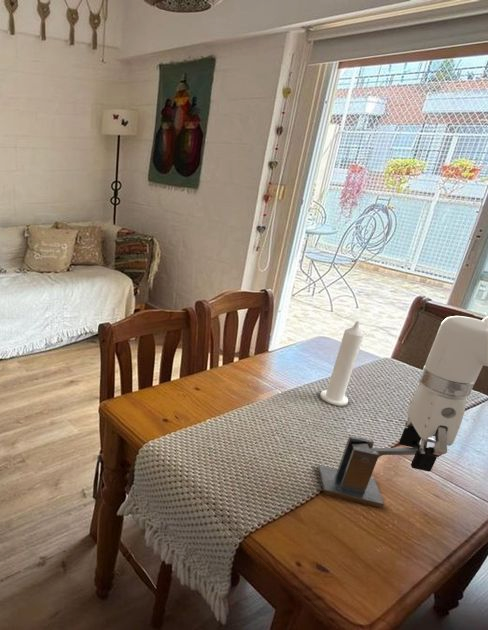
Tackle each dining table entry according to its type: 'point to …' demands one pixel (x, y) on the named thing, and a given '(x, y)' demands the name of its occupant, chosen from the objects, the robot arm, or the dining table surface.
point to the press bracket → (353, 475)
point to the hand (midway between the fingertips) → (414, 456)
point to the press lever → (391, 449)
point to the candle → (343, 366)
